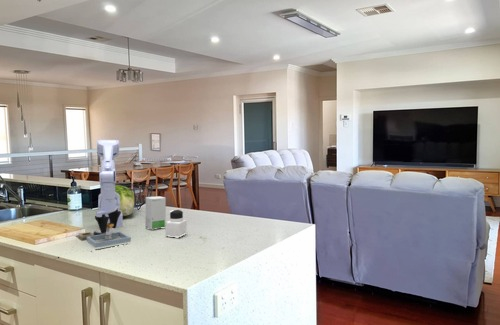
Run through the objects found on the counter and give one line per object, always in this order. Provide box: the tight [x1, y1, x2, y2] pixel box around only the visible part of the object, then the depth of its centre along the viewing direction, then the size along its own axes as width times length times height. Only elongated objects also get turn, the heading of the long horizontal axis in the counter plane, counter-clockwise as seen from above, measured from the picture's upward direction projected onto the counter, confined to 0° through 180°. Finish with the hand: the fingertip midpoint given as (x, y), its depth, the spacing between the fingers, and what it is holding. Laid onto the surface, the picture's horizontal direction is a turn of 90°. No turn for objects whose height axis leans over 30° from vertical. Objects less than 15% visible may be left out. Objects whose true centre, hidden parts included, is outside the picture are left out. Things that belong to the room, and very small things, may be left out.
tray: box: [86, 231, 132, 251], centre depth 165 cm, size 15×12×3 cm
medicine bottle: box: [165, 209, 187, 236], centre depth 179 cm, size 7×7×12 cm
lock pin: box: [104, 223, 114, 241], centre depth 165 cm, size 3×3×8 cm
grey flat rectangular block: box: [75, 228, 106, 242], centre depth 173 cm, size 14×10×3 cm
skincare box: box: [144, 195, 167, 230], centre depth 192 cm, size 8×7×16 cm
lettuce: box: [115, 184, 136, 218], centre depth 218 cm, size 18×23×19 cm
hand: (108, 230), depth 165 cm, fingers open, 7 cm apart
